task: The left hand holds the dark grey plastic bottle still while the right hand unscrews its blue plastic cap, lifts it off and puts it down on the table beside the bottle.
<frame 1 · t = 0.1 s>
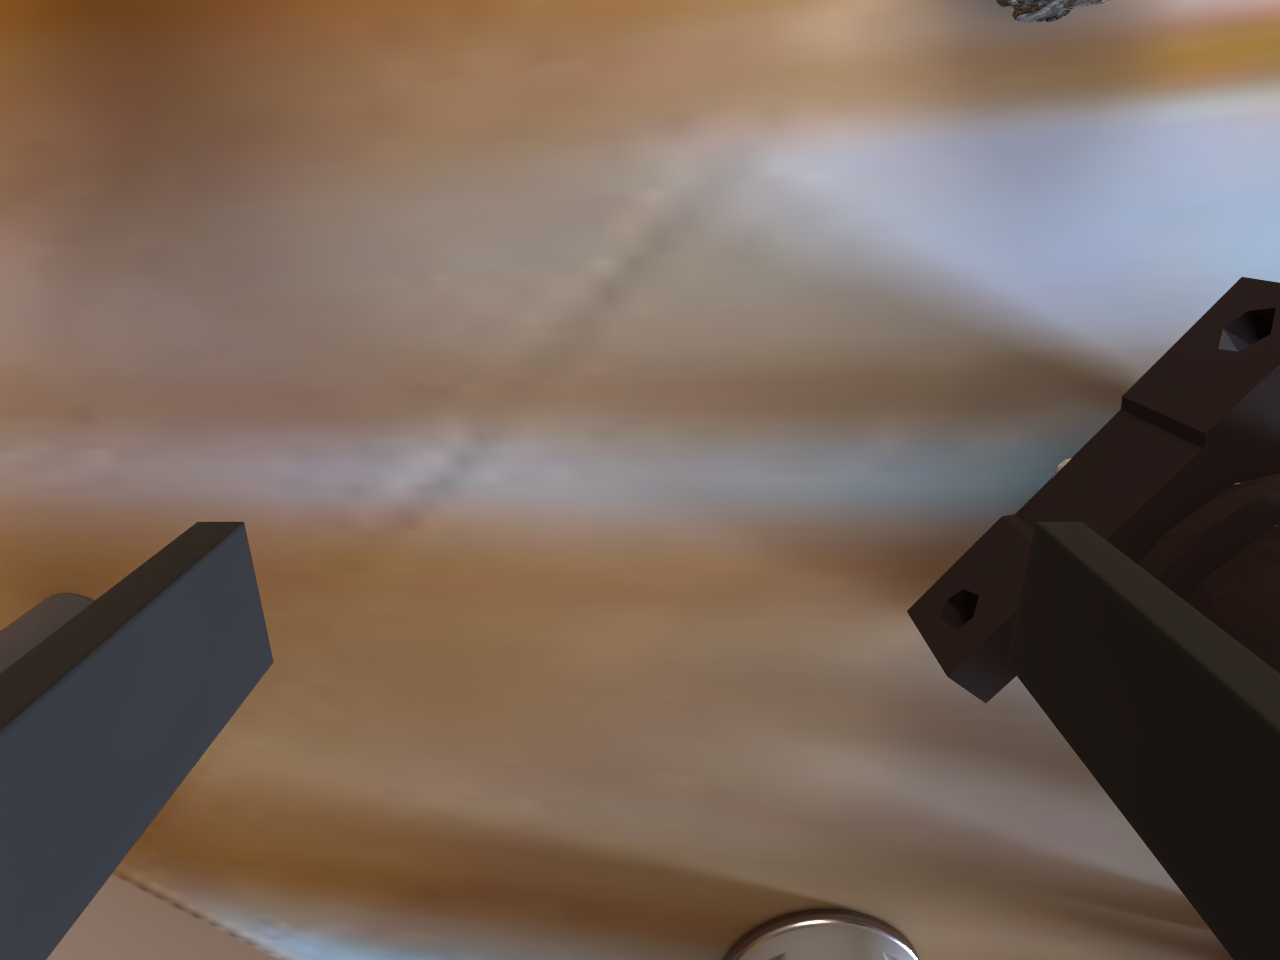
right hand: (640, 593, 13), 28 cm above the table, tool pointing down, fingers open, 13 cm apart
bottle: (77, 627, 46), on the table
mechanical component: (1200, 578, 44), on the table
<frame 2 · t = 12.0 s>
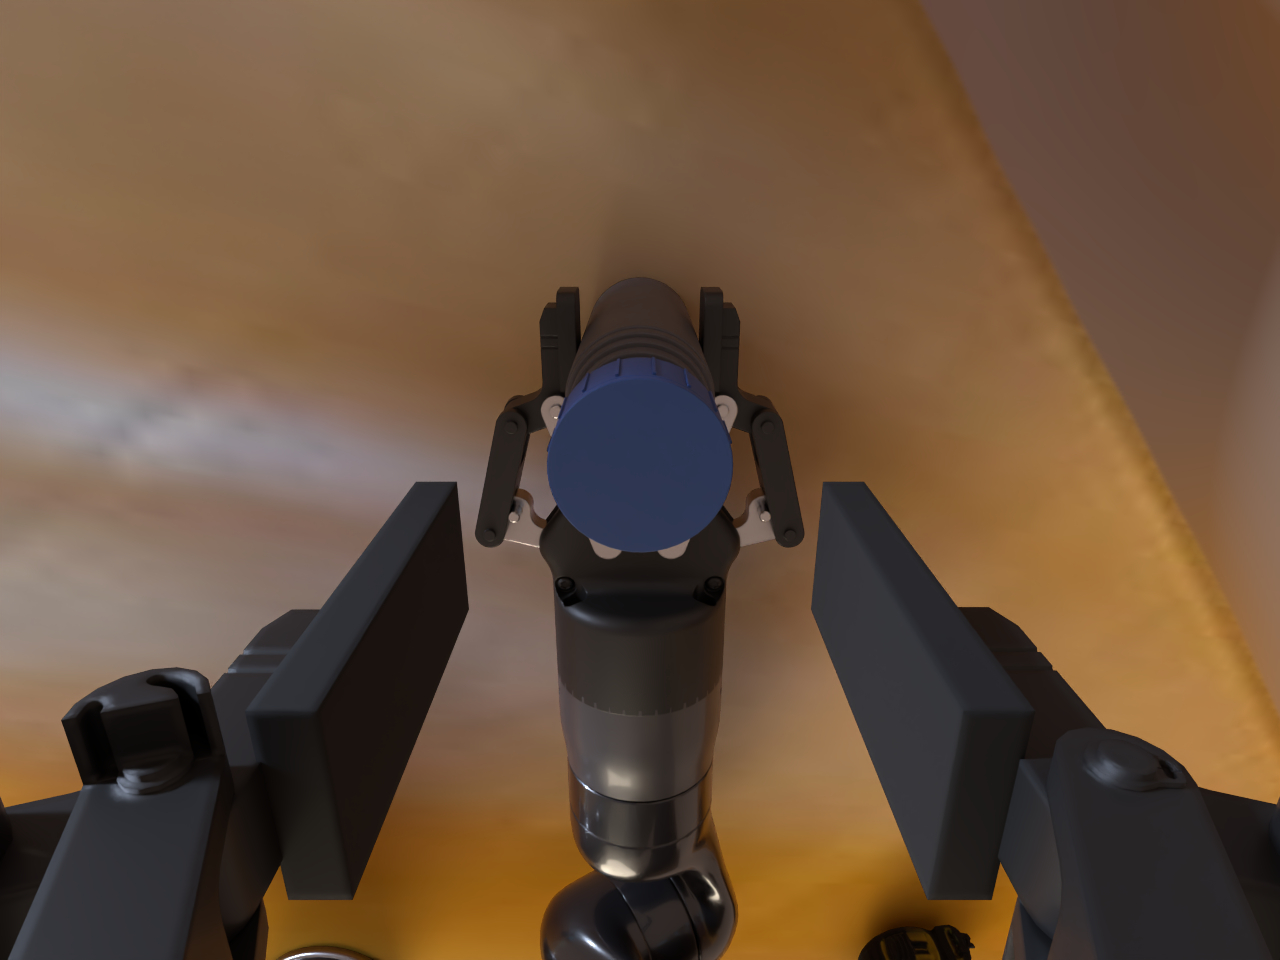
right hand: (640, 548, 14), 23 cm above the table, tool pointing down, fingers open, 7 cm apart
left hand: (639, 291, 29), fingers closed on bottle, 4 cm apart
bottle: (639, 329, 36), on the table, touching left hand
tape measure: (911, 943, 51), on the table
cap: (640, 465, 19), point 19 cm above the table, screwed on, not yet turned
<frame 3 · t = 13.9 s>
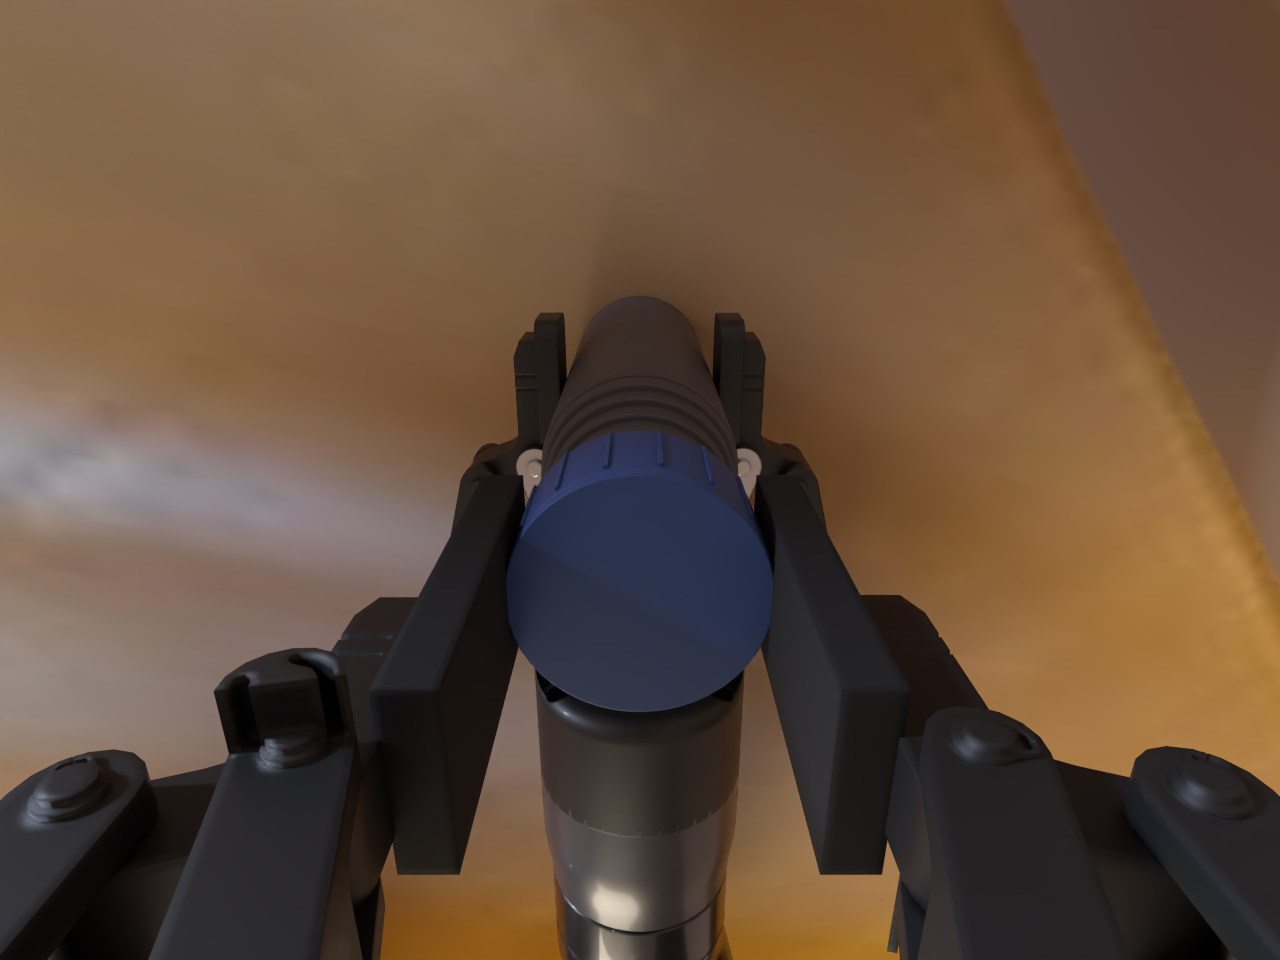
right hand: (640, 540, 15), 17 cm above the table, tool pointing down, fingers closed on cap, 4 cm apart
bottle: (639, 357, 30), on the table, touching left hand
cap: (639, 592, 13), point 19 cm above the table, screwed on, not yet turned, touching right hand
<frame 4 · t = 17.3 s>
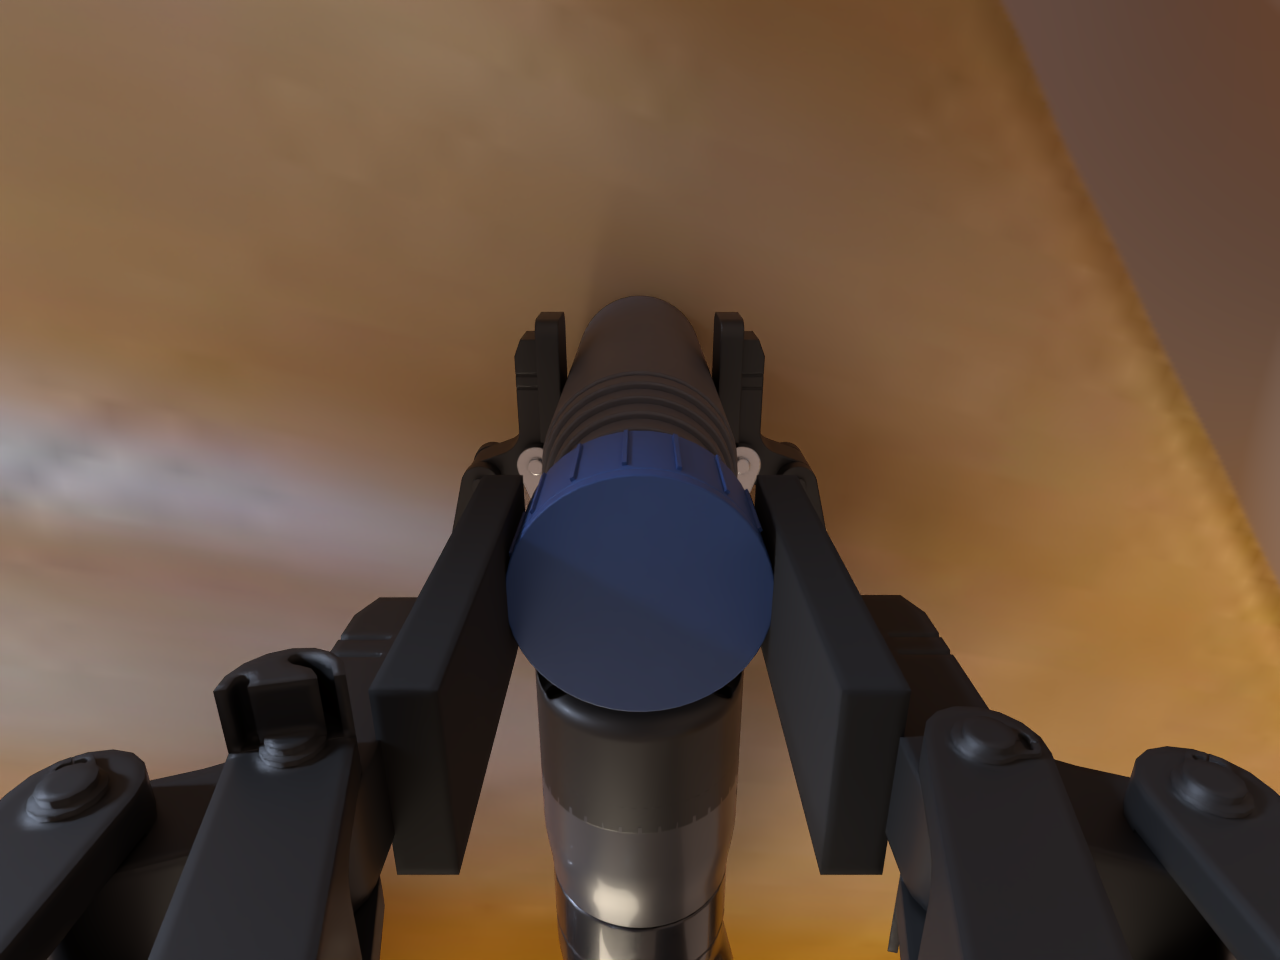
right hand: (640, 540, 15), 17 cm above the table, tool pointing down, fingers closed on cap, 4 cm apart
bottle: (639, 356, 30), on the table, touching left hand
cap: (639, 592, 13), point 19 cm above the table, turned 127° so far, risen 0.2 cm, still on its thread, touching right hand
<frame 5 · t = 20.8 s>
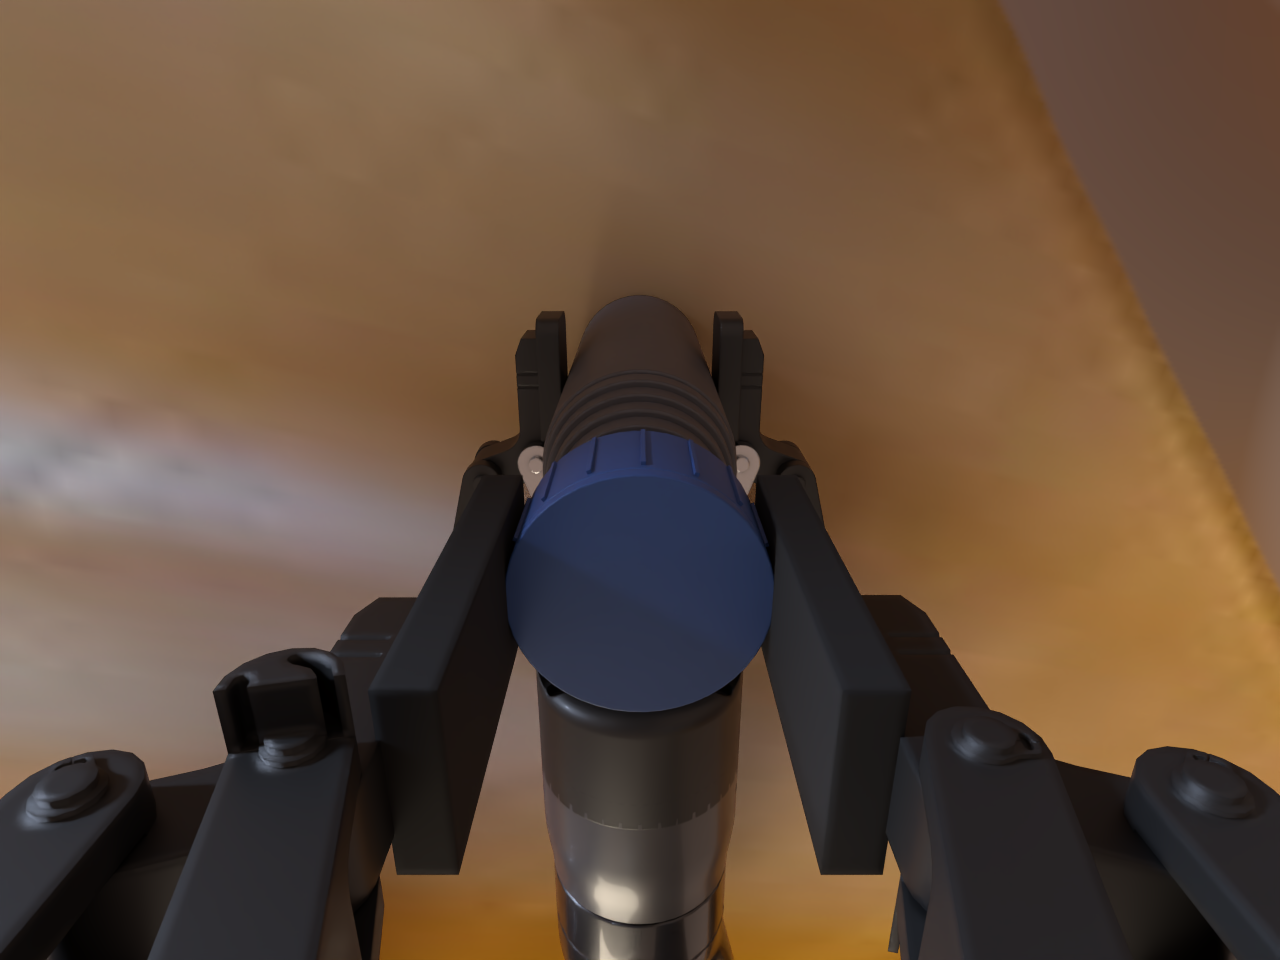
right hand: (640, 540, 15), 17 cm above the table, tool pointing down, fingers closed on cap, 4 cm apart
bottle: (639, 355, 30), on the table, touching left hand
cap: (639, 592, 13), point 19 cm above the table, turned 255° so far, risen 0.3 cm, still on its thread, touching right hand
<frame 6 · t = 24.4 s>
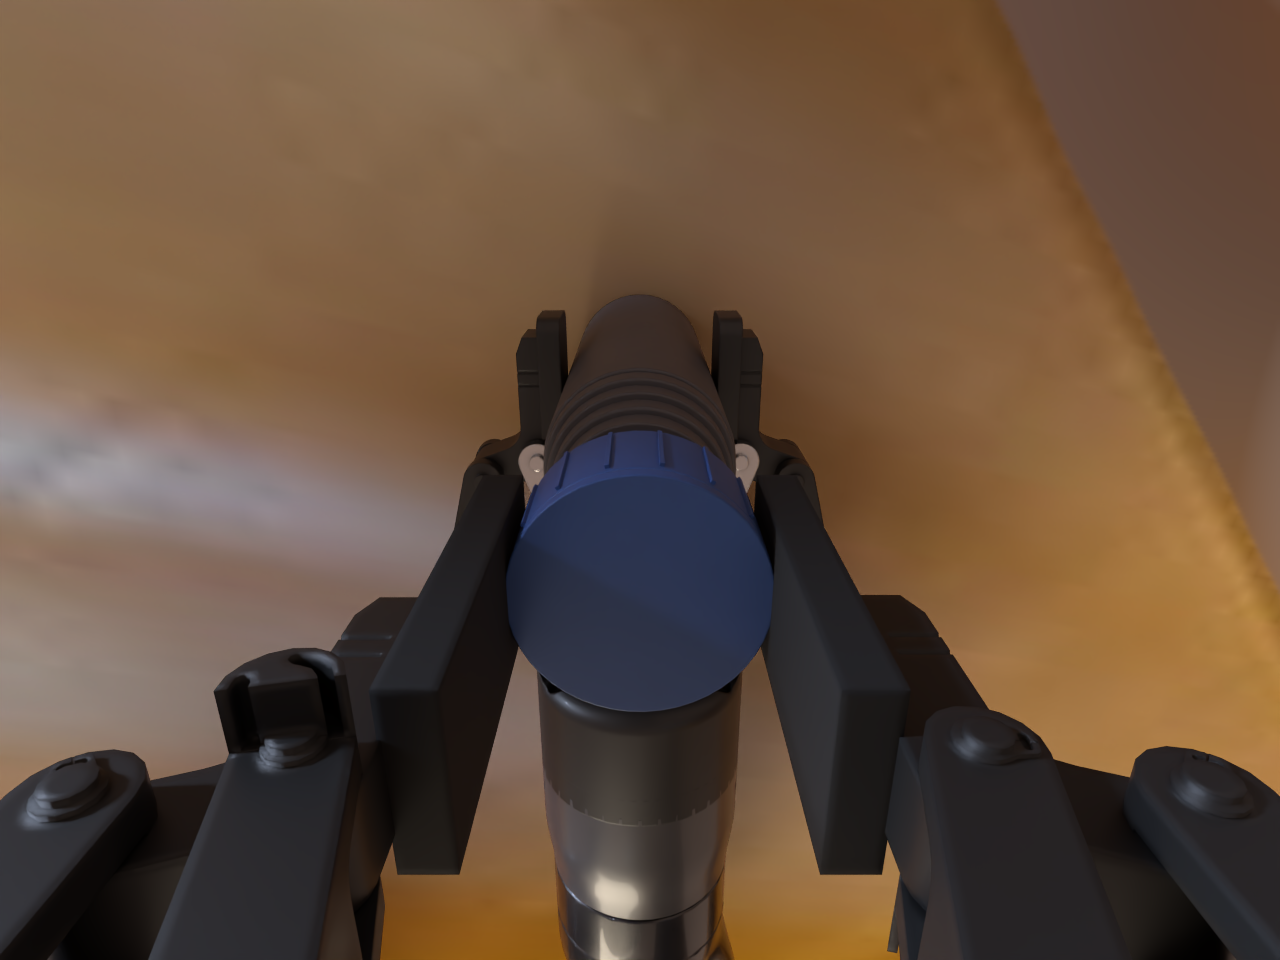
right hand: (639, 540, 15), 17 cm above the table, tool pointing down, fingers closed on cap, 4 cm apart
bottle: (639, 354, 31), on the table, touching left hand
cap: (639, 592, 13), point 19 cm above the table, turned 382° so far, risen 0.5 cm, still on its thread, touching right hand
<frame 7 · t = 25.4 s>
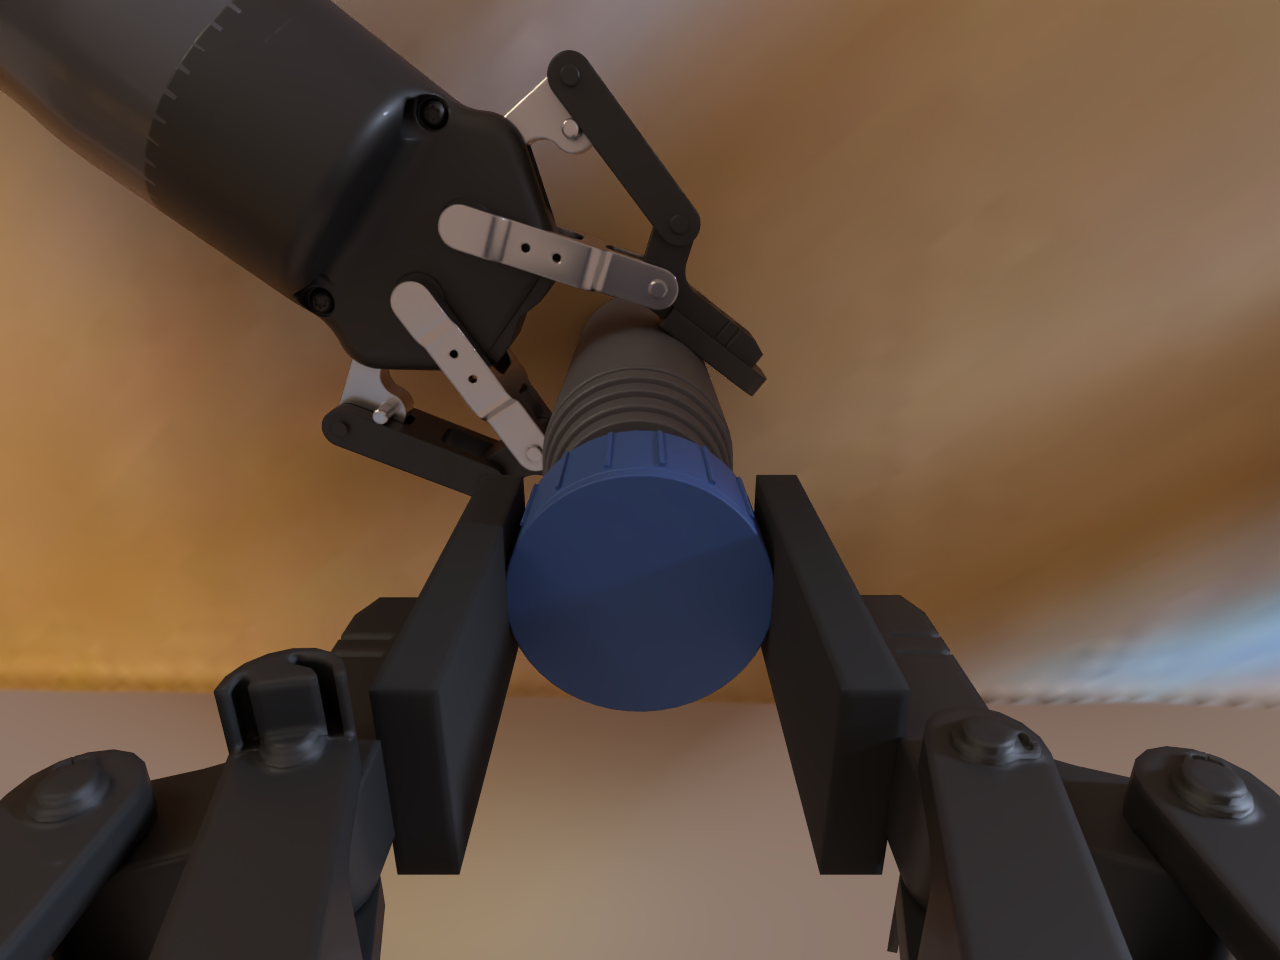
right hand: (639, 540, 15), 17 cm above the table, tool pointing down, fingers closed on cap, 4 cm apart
left hand: (701, 443, 25), fingers closed on bottle, 4 cm apart
bottle: (637, 353, 31), on the table, touching left hand
cap: (639, 592, 13), point 19 cm above the table, off its thread, touching right hand
when the right hand's fingers open (1 cm above the table, at t = 31.6 s): cap stays where it is, point 2 cm above the table.
when the left hand's fingers open (7 cm above the table, at t = 32.9 s): bottle stays where it is, on the table.
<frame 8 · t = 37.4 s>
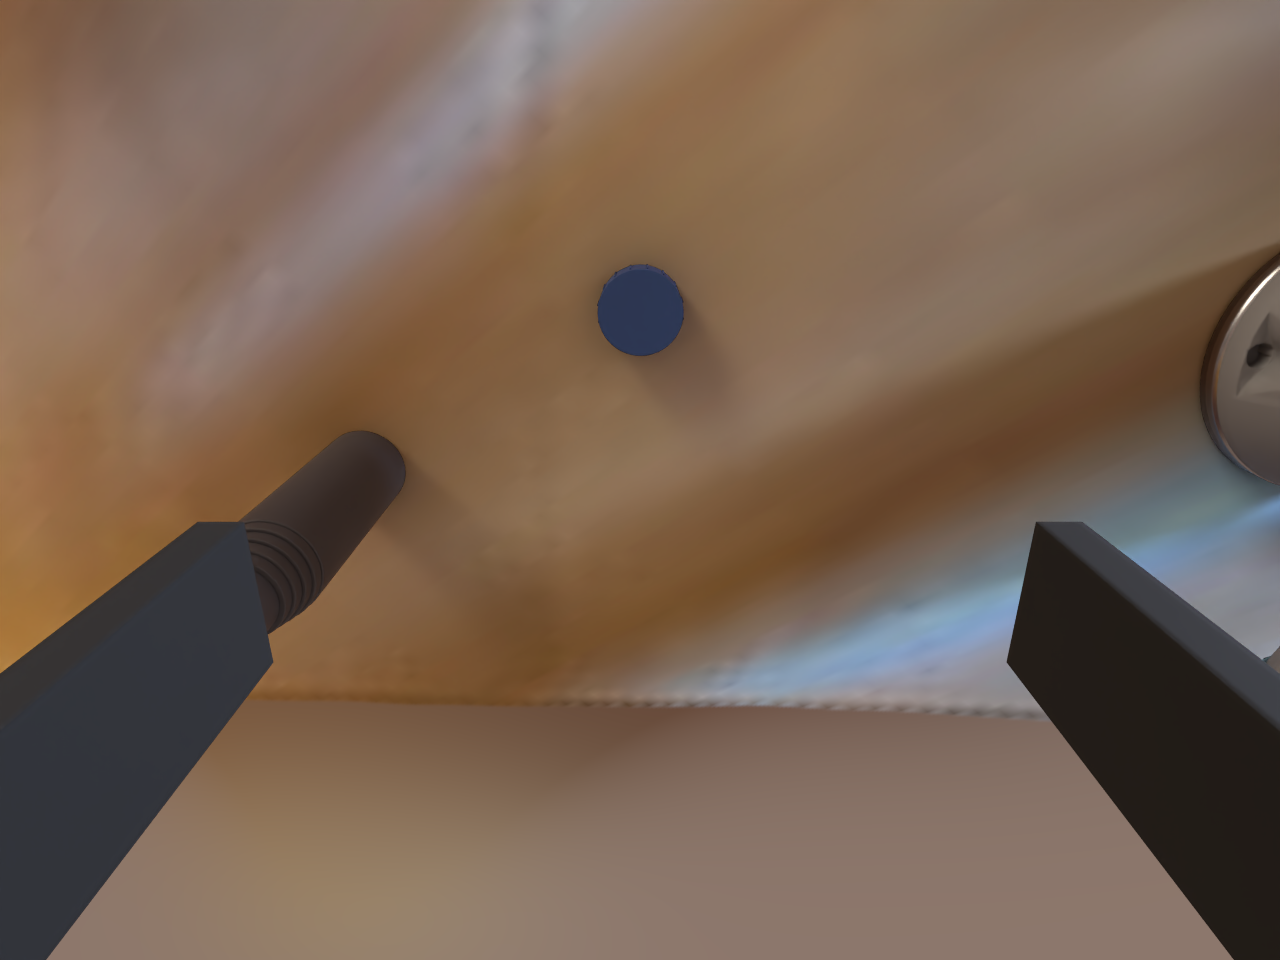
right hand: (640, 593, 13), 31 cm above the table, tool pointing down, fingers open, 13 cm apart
bottle: (365, 468, 45), on the table
cap: (640, 312, 40), point 2 cm above the table, off its thread
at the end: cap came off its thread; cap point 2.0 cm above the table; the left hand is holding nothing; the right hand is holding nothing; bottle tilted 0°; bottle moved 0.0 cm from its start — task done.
